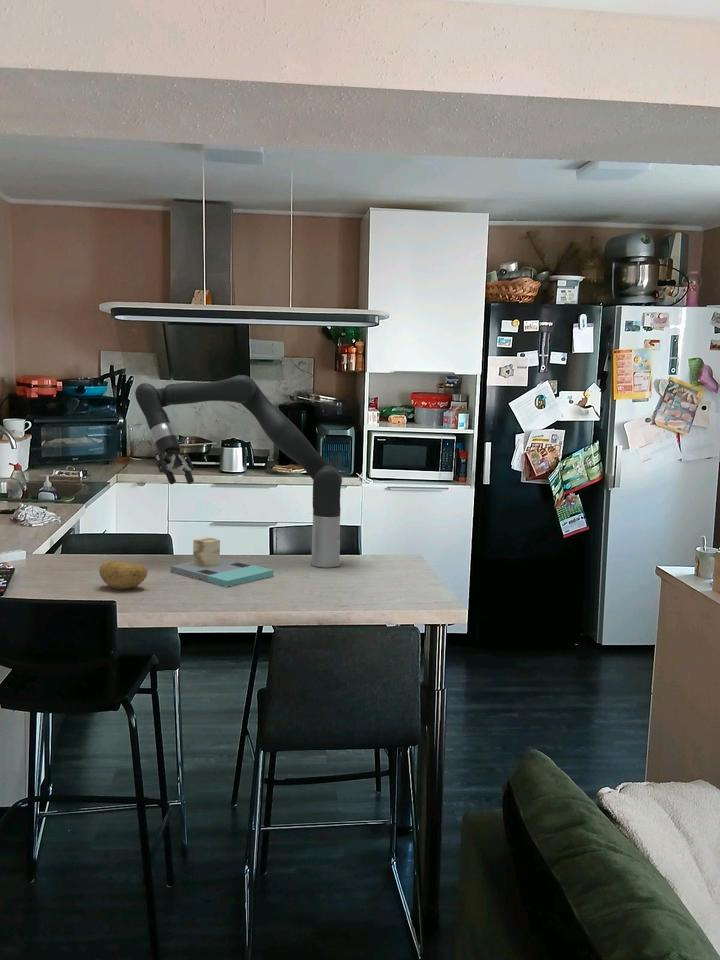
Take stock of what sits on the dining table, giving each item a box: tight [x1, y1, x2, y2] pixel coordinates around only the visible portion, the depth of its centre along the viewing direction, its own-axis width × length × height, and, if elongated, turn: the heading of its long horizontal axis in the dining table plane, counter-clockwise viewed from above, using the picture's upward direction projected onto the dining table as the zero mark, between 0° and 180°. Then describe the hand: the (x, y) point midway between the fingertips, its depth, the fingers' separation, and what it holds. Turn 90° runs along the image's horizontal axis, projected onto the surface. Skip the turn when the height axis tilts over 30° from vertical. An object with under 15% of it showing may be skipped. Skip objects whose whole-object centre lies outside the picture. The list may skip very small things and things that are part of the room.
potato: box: [98, 560, 148, 590], centre depth 256 cm, size 10×14×8 cm
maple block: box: [192, 536, 221, 567], centre depth 281 cm, size 6×6×8 cm
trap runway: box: [170, 556, 275, 588], centre depth 277 cm, size 26×20×2 cm
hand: (182, 483), depth 284 cm, fingers open, 8 cm apart
